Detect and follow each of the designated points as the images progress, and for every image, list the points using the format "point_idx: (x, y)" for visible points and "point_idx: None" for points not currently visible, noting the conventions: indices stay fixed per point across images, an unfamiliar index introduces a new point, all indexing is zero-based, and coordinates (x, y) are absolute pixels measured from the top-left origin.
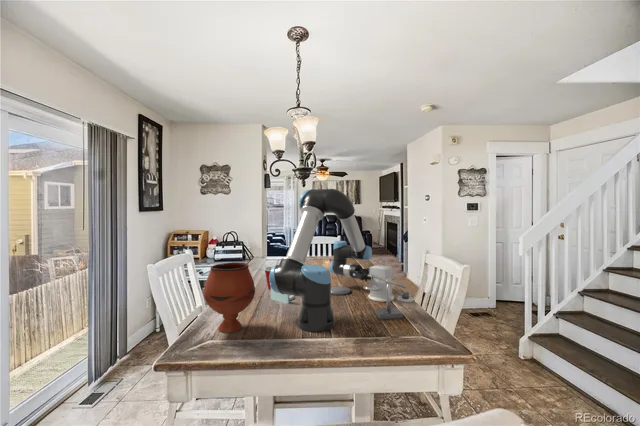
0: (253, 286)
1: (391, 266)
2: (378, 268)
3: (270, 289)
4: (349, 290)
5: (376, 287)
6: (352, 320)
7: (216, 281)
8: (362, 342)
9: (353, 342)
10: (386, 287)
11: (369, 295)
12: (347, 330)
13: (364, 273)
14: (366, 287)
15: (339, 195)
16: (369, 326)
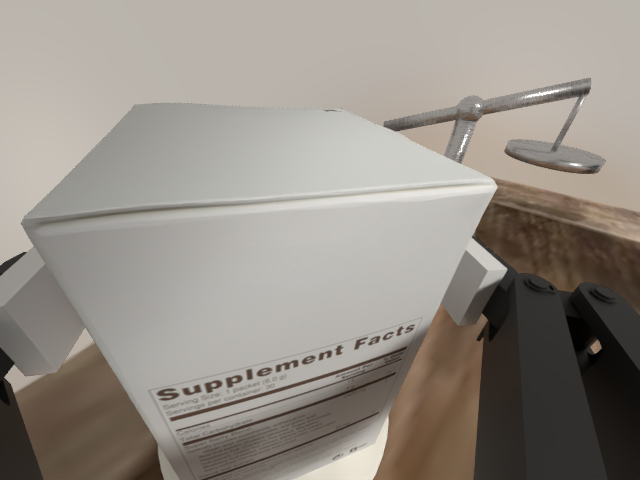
0: None
1: (140, 104)
2: (384, 128)
3: None
4: None
5: (530, 142)
6: (583, 279)
7: None
8: (560, 211)
9: (584, 217)
10: (468, 143)
11: (361, 473)
12: (603, 249)
13: (545, 377)
14: (587, 153)
15: None
16: (523, 235)
